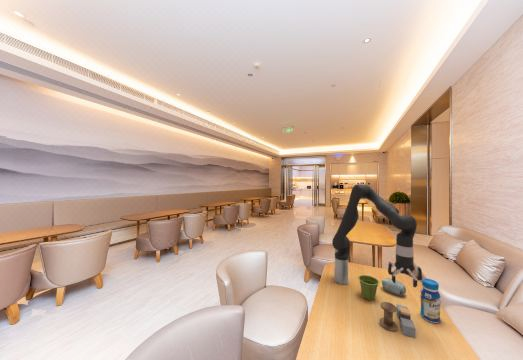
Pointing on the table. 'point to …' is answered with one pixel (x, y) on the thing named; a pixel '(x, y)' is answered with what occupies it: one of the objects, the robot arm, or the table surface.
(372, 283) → the plant pot
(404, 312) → the tan rectangular block
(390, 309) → the bobbin
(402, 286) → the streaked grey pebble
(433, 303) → the beverage bottle
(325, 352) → the table surface
